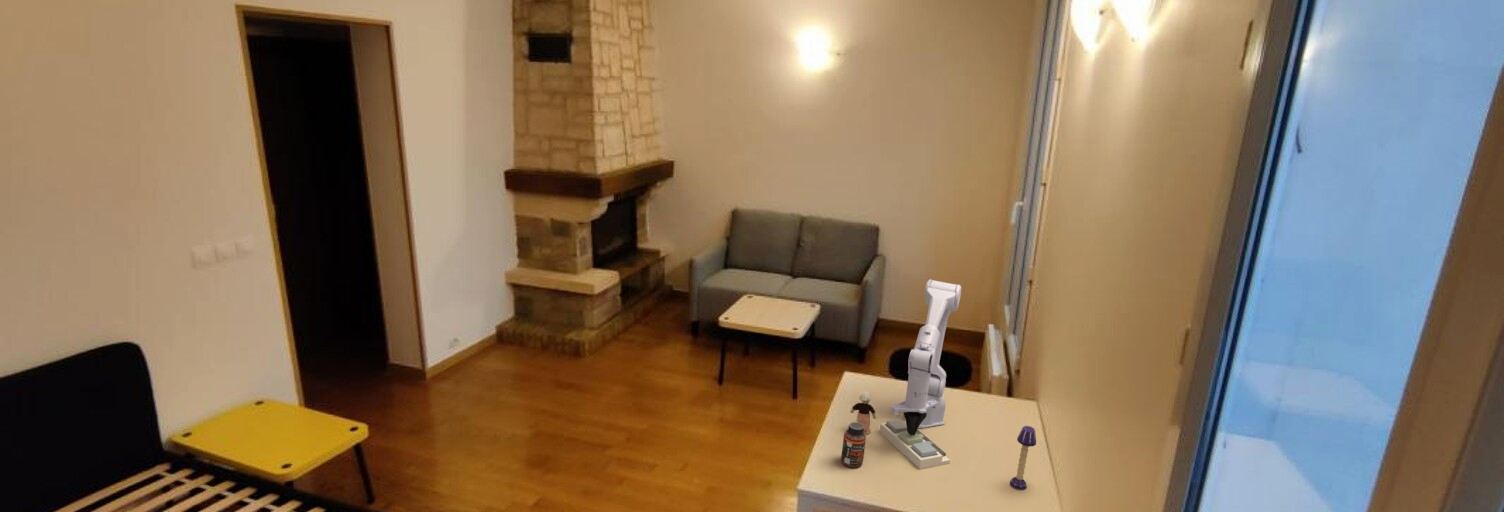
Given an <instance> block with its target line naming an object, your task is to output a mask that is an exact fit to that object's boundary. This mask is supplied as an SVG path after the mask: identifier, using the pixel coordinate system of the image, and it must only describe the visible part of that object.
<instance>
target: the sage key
mask: <svg viewBox="0 0 1504 512" xmlns="http://www.w3.org/2000/svg"><path fill="white" fill-rule="evenodd" d="M898 437H900V438H901V439H902V440H903V441H904V442H905V443H906V444H907V445H912V444H915V443H920V442H923V438H922V437H921V436H920V435H919V434H917V433H916V434H915V435H910V434H909V433H908V432H907V431H903V432H899V436H898Z"/></svg>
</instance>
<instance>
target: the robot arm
mask: <svg viewBox="0 0 1504 512" xmlns="http://www.w3.org/2000/svg"><path fill="white" fill-rule="evenodd" d="M961 295H962V286H961V284H955V283H949V282H944V281H939V280H933V279H928V280H927V282H926V285H925V288H924V296H923V297H924V300H925V303H926V306H927V307H928V310H927V315H926V321H925V325H923V326H921V327H920V328H919V331H918V335H917V337H916V338H917V339H916V341H915V343H914V344H915V345H914V347H913V348H911V350H910V352H909V356H908V360H907V361H908V362H907V363H908V365H907V366H908V367H907V368H908V371H907V374H908V379H907V386H906V393H905V399H904V401H902V402H899V403H898V404H895V405H891V407H890V413H891V414H892V415H893V416H898V415H899V414H903V417H904V419H905V423H906V425H907V432H908V433H909V434H910V435H915V434H916V432H917V429H918V430H919V429H924V428H930V427H937V426H942V425H945V422H944V417H945V411H946V400H945V399H946V398H945V396H944V393H945V389H946V383H947V380H946V379H947V372H946V371H945V370H944V368H943V367H942V366H941V365H940V360H941V356H942V350H943V346H944V345H943V344H944V340H945V335H946V330H947V325H948V319H949V316H950V314H951V313H953V312H957V311H958V308H959V305H960V300H961Z"/></svg>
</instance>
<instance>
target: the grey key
mask: <svg viewBox="0 0 1504 512" xmlns="http://www.w3.org/2000/svg"><path fill="white" fill-rule="evenodd" d="M886 426H887V427H888V428H890V429H891V430H892V431H893V432H894V433H895V434H896V433H899V432H903V431H907V425H906V421H904V420H902V419H901V418H899V419H898V418H897V419H892V420H890V419H889V420H886Z"/></svg>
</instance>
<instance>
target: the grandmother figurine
mask: <svg viewBox="0 0 1504 512" xmlns="http://www.w3.org/2000/svg"><path fill="white" fill-rule="evenodd" d="M858 399H859V400H860V401H861V402H857V403H855V404H854V405H853V406H852V408H851V409H850V411H849V413H850V414H854V412H855V411H858V412H857V416H856V417H857V418H856V422H857V423H860V424H862V425H863V426H864V431H863V432H864V433H865V434H866V435H870V434H871V433H872V431H871V429H870V426H871V415H872V418H873V419H874V420H876V419H877V418H878V417H877V413H876V410H875V408H874V406H872V404H869V403H870V402H871V399H872V394H871V393H870V391H863V392H861V393H860V395H859V398H858ZM870 413H871V414H870Z"/></svg>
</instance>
